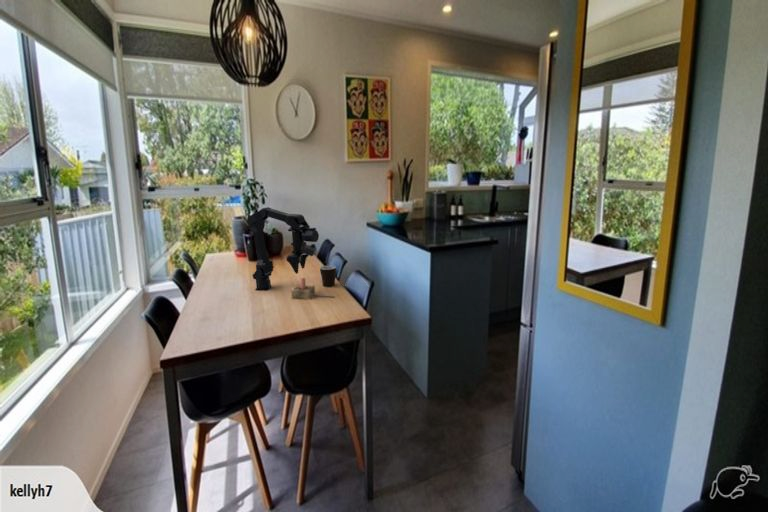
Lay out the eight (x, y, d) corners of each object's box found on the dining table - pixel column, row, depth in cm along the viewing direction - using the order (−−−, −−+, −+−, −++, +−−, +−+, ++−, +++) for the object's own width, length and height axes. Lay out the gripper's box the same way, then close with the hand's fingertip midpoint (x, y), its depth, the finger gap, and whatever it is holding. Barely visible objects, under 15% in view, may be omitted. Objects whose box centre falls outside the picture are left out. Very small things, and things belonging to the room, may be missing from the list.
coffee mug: (333, 288, 196) (332, 270, 193) (318, 287, 197) (317, 269, 195) (340, 281, 207) (339, 264, 204) (326, 280, 208) (325, 263, 206)
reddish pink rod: (300, 296, 184) (299, 279, 181) (302, 295, 186) (301, 277, 184) (305, 296, 183) (304, 279, 181) (306, 295, 186) (305, 278, 184)
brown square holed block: (291, 298, 181) (291, 291, 180) (298, 292, 189) (297, 285, 188) (309, 299, 180) (309, 291, 179) (315, 293, 188) (314, 285, 188)
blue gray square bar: (313, 296, 184) (313, 295, 184) (314, 295, 185) (314, 294, 185) (333, 297, 181) (333, 297, 181) (334, 297, 182) (334, 296, 182)
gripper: (307, 244, 171) (309, 276, 175) (319, 237, 189) (320, 266, 193) (284, 244, 173) (287, 276, 177) (298, 236, 191) (300, 265, 195)
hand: (300, 270), depth 185 cm, fingers open, 9 cm apart
